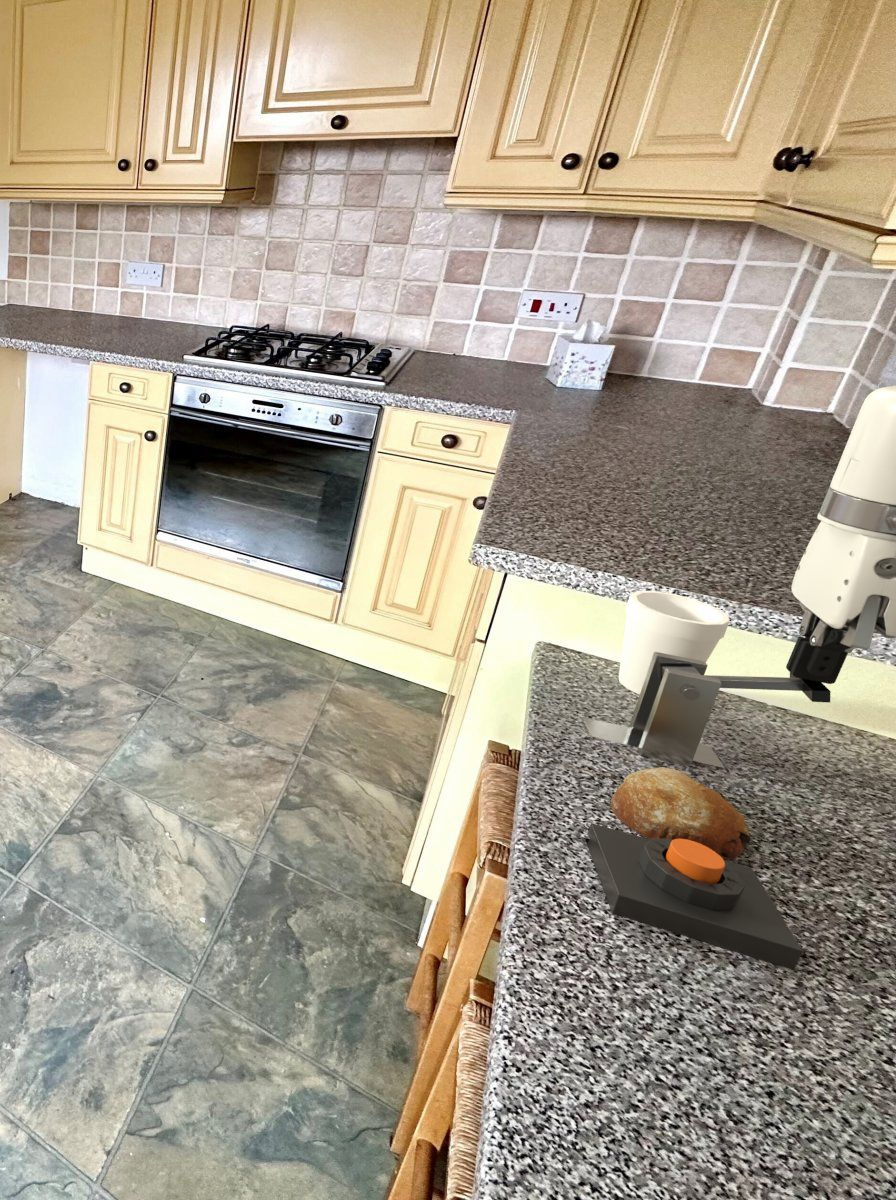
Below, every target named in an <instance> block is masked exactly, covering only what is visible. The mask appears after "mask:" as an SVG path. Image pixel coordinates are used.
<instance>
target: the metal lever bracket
mask: <svg viewBox="0 0 896 1200" xmlns="http://www.w3.org/2000/svg"><path fill="white" fill-rule="evenodd" d="M662 666H676V667H695V668H696V669H697V670H698V672H699V673H700V674H701V675H697V674H692V673H687V672H682V671H677V670H672V669H667V668H666V670H665V672H664V675H663V678H662ZM708 667H709V666H708V663H707V662H706V663H705V661H700V660H695V659H690V658H685V657H679V656H674V655H669V654H664V653H659V652H654V654H653V657H652V660H651V663H650V666H649V669H648V672H647V675H646V678H645V681H644V684H643V687H642V690H641V692H640V695H639V694H638V695H639V696H638V698H637V700H636V704H635V708H634V710H633V714H632V716H631V719H630V722H629V725H628V726H624V725H620V724H615V723H611V722H607V721H602V720H598V719H593V718H590V717H589V718H588V717H585V716H582V717H581V720H580V721H581V723H582V725H583V728H584V730H585V732H586V734H587V736H588V737H592V738H596V739H600V740H605V741H609V742H613V743H616V744H617V743H618V744H621V745H625V746H630V747H633V748H637V753H638V755H639V756H641V757H645V758H650V759H653V760H654V759H655V760H657V761H662V762H666V763H671V764H675V765H679V766H682V767H687V768H691V766H692V763H693V762H697V763H702V764H706V765H710V766H713V767H718V768H722V769H726V767H725V765H724V764H723V763H722V761H721V760H720V759H719V757H718V755H717V754H716V752H715V751H714V750H713V748H712V746H710V745H707V744H702V743H701V739H702V737H703V734H704V732H705V729H706V726H707V723H708V721H709V718H710V715H711V714H712V713H711V712H712V710H713V707H714V705H715V702H716V701H717V700H716V699H717V697H718V694H719V692H720V689H721V688H720V686H721V684H722V683H721V681H720V680H719V679H718V678H712V677H707V676H702V675H706V671H707V668H708Z"/></svg>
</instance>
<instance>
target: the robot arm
mask: <svg viewBox="0 0 896 1200" xmlns="http://www.w3.org/2000/svg"><path fill="white" fill-rule="evenodd" d="M816 518H817V520H819V521H820V522H819V524H818V525H817V528H816V529H815V531H814V533H813V534H812V537H811V538H810V540H809V542H808V544H807V546H806V548H805V550H804V552H803V555H802V557H801V559H800V561H799V564H798V566H797V568H796V571H795V574H794V576H793V579H792V583H791V588H790V589H791V590H790V591H791V594H792V595H793V596H794V597H795V599H797V600H798V602H799V603H798V604H799V606H800V608H801V609H802V618H801V621H800V623H799V629H798V635H799V636H797V639H796V642H795V644H794V646H793V649H792V651H791V653H790V656H789V658H788V661H787V663H786V666H785V669H786V670H787V671H788V672H789V673H790V672H791V674H792V675H793V676H794V677H797V678H801V679H806V680H812V681H817V682H822V683H823V684H828V685H833V684H835V683H836V682H837V679H838V677H839V674H840V673H841V671H842V668H843V665H844V663H845V661H846V659H847V657H848V654H851V653H852V652H853V651H854V649H860V650H865V651H867V650H869V649H870V647H871V644H872V641H873V636H874V633H875V631H876V632H877V633H879V634H880V635H881V636H882V637H885V638H887V639H893V640H896V385H891V386H890V385H889V386H883V387H879V388H876V389H874V390H873V391H872V392H870V393H869V394H868V395H867V396H866V398H865V399H864V401H863V403H862V405H861V408H860V410H859V412H858V415H857V417H856V419H855V422H854V424H853V427H852V429H851V432H850V434H849V437H848V439H847V442H846V443H845V447H844V449H843V451H842V454H841V457H840V459H839V462H838V464H837V467H836V469H835V472H834V474H833V476H832V479H831V482H830V485H829V486H828V488H827V491H826V494H825V496H824V499H823V501H822V503H821V506H820V508H819V511H818V514H817V516H816Z"/></svg>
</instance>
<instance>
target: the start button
mask: <svg viewBox="0 0 896 1200" xmlns="http://www.w3.org/2000/svg"><path fill="white" fill-rule="evenodd" d="M665 858H666V861H667V863H668V864H669V865H671V866H672V867H673V868H674V869H675V870H677V871H678V872H680V873H682V874H684V875H686V876H688V877H690V878H692V879H695V880H698V881H702V882H705V883H709V884H715V883H717V882H719V880H720V877H721V875H722V872H723V870H724V868H725V862H724V860H725V859H724V860H723V859H722V858H721V856H719V855H718V854H717V853H716V852H714V851H713V850H711V849H710V848H708V847H706V846H704V845H702V844H700V843H697V842H694V841H691V840H687V839H674V840H672V841H671V843H670V846H669V849H668V851H667V854H666V857H665Z"/></svg>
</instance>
